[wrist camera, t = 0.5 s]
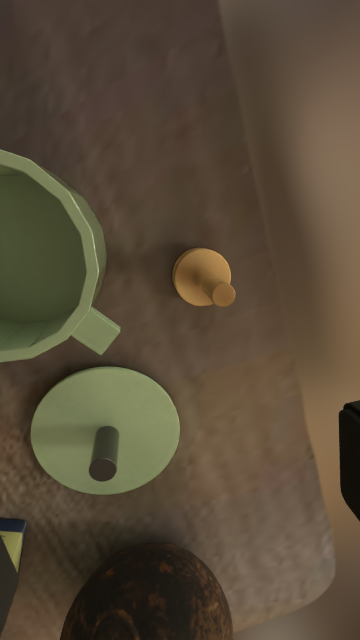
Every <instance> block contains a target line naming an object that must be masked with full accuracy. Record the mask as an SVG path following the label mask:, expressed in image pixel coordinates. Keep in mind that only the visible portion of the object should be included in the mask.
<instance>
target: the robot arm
mask: <svg viewBox="0 0 360 640" xmlns="http://www.w3.org/2000/svg"><path fill="white" fill-rule="evenodd" d="M339 443H340V445H339V446H340V485H341V493H342V496H343V498H344V500H345V502H346V504H347V505H348V506H349V508H350V509H351V510H352V512H353V513H354V514H355V516H356V517H357V518H358V520H359V521H360V400H359V401H354V402H350V403H346V404H345V405H344V407H343V410H341V411H340V412H339ZM17 581H18V576H17V571H16V568H15V566H14V564H13V562H12V559H11V557H10V555H9V553H8V550H7V548H6V546H5V544H4V542H3V539H2V537H1V535H0V637H1V634H2V631H3V628H4V625H5V622H6V618H7V615H8V612H9V609H10V606H11V603H12V600H13V597H14V594H15V591H16V587H17Z"/></svg>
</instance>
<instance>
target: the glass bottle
mask: <svg viewBox="0 0 360 640" xmlns="http://www.w3.org/2000/svg"><path fill="white" fill-rule="evenodd" d="M60 640H233V626H232V619H231V614H230V610H229V606H228V603H227V600H226V597H225V595H224V593H223V590H222V588H221V586H220V584H219V582H218V581H217V579H216V578H215V576H214V574H213V573H212V572H211V570H210V569H209V568H208V567H207V566H206V564H205V563H204V562H203V561H201V560H200V559H199V558H198V557H196V556H195V555H194V554H192V553H191V552H189V551H188V550H186V549H183V548H181V547H179V546H176V545H172V544H166V543H146V544H140V545H136V546H133V547H130V548H128V549H125V550H123V551H121V552H119V553H117V554H116V555H114V556H113V557H111V558H110V559H108V560H107V561H106V562H105V563H103V564H102V565H101V566H100V567H99V568H98V569H97V570H96V571H95V572H94V573H93V574H92V575H91V577H90V578H89V579H88V580H87V582H86V583H85V584H84V586H83V587H82V588H81V590H80V591H79V593H78V594H77V596H76V598H75V600H74V602H73V604H72V606H71V608H70V610H69V612H68V614H67V616H66V620H65V623H64V626H63V629H62V633H61V637H60Z"/></svg>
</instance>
